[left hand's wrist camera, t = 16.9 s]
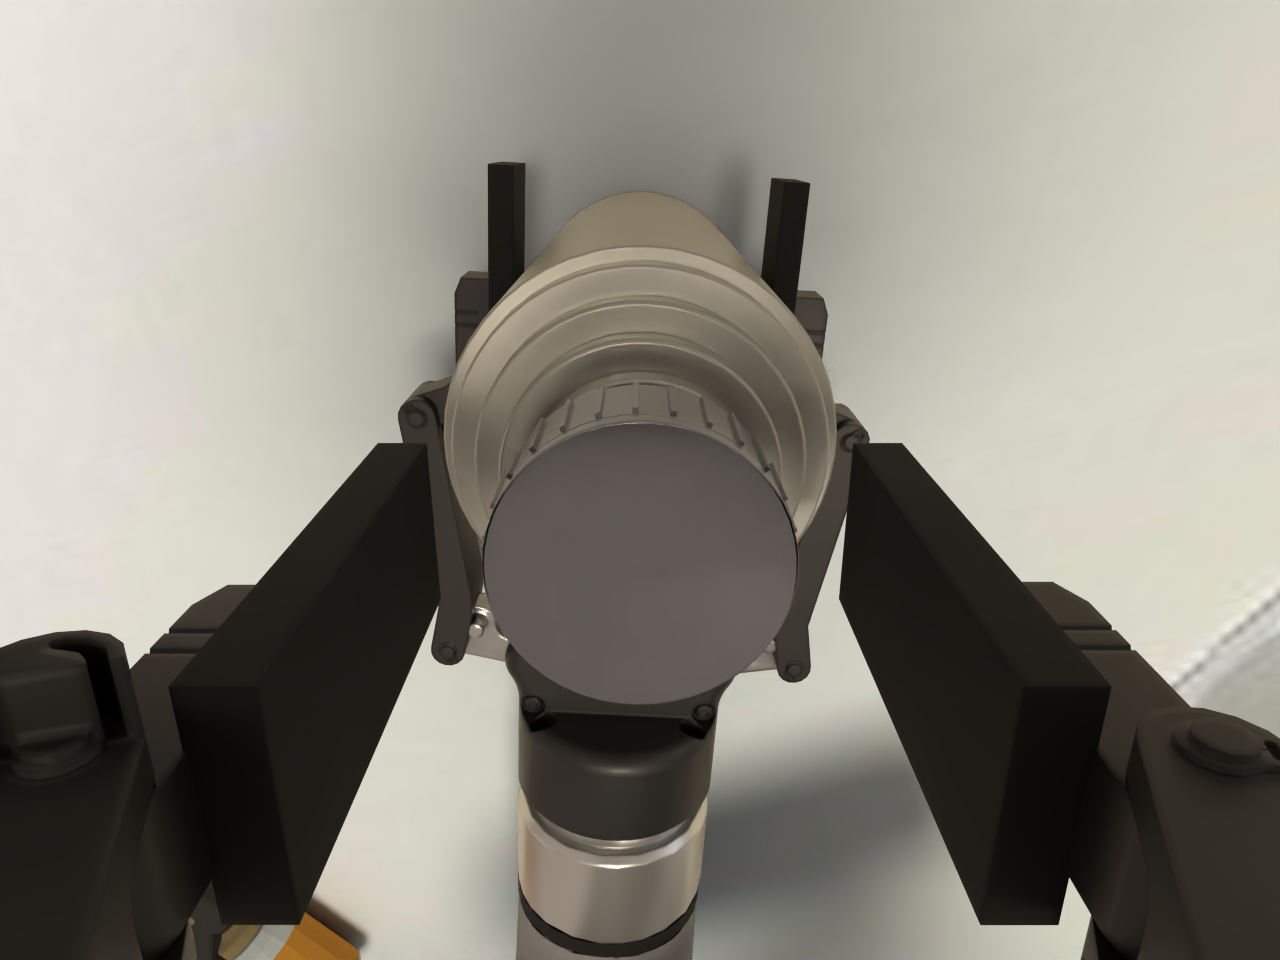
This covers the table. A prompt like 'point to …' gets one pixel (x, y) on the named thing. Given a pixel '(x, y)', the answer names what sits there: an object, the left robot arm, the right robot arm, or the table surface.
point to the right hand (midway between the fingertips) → (648, 172)
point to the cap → (640, 546)
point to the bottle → (640, 347)
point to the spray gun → (263, 938)
